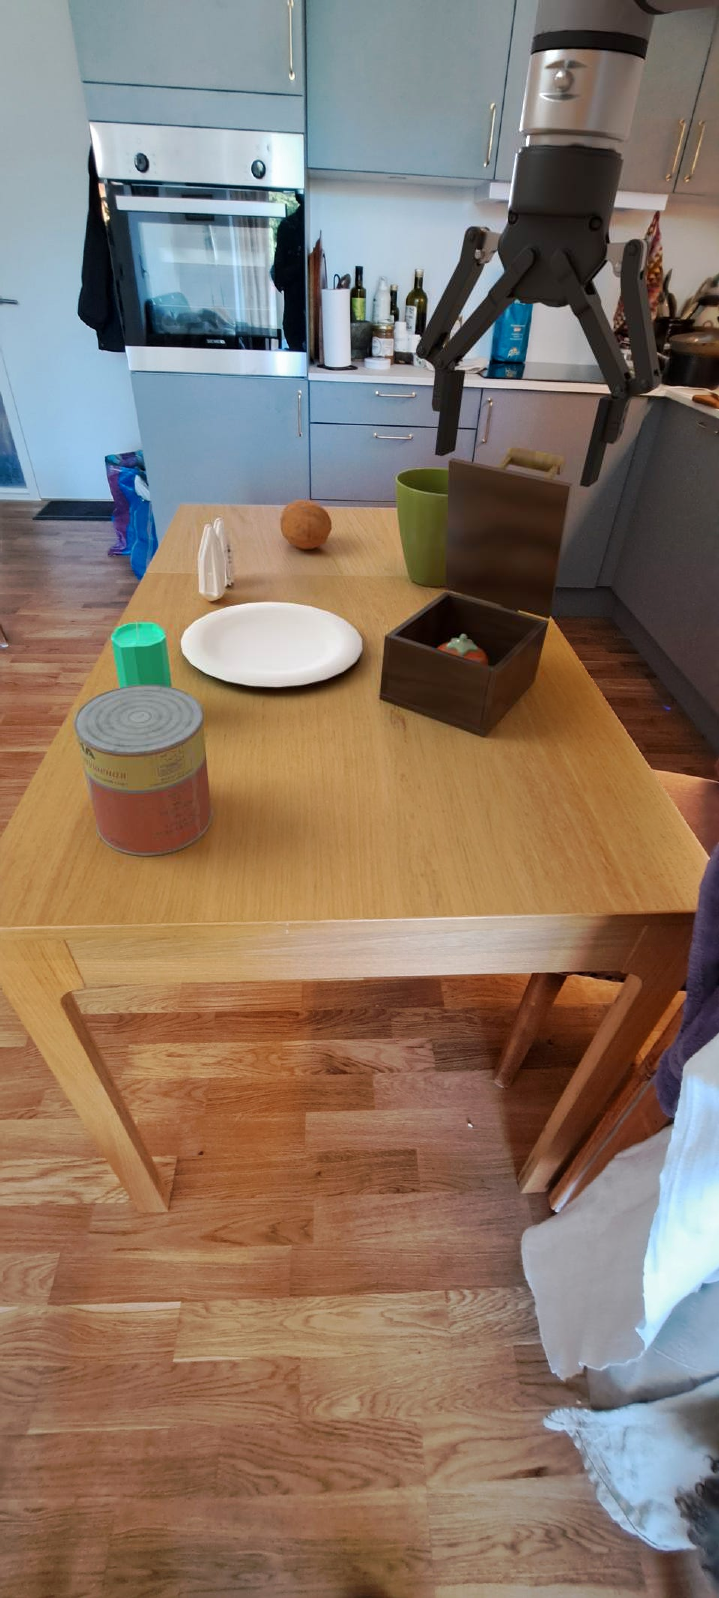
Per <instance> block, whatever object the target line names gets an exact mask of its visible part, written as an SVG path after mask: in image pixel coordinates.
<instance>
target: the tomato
mask: <svg viewBox="0 0 719 1598" xmlns="http://www.w3.org/2000/svg"><path fill="white" fill-rule="evenodd" d="M436 649H439V650H442V651H445V652H448V653H451V654H454V655H458V656H461V657H464V658H467V659H470V660H473V661H476V662H479V663H482V664H485V665H488V666H489V661H488V658H487V656H486V653H485V652H484V651H483V650H482V649H481V648H480V647H478V646H476V645H475V644H474V643H473V641H472V640H470V639H467V635H466V634H462V635H461V636H460V638H452V639H451V642H446V643H444V644H442V645H440V646H439V647H437V648H436Z"/></svg>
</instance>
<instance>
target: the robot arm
mask: <svg viewBox="0 0 719 1598" xmlns="http://www.w3.org/2000/svg"><path fill="white" fill-rule="evenodd" d="M718 7H719V0H537V5H536V12H535V19H534V27H533V34H532V42H531V48H530V56H529V63H528V69H527V75H526V76H527V77H526V81H525V89H524V96H523V104H522V109H521V117H520V123H519V130H518V131H519V133H520V135H521V136H522V137H523V138H526V143H525V146H521V147H519V150H518V152H516V153H515V158H514V165H513V170H512V178H511V185H510V191H509V198H508V207H507V219H506V224H505V226H504V229H503V230H502V233H499V232H496V231H491V229H490V228H489V227H487V226H478V225H475V226H474V225H471V226H469V227H468V228H467V229H466V230H465V232H464V235H463V241H462V245H461V252H460V256H459V261H458V262H457V265H456V267H455V269H454V271H453V273H452V274H451V277H450V279H449V281H448V283H447V285H446V287H445V289H444V291H443V293H442V295H441V297H440V299H439V301H438V303H437V305H436V307H435V308H434V311H433V313H432V315H431V317H430V318H429V321H428V323H427V325H426V327H425V329H424V331H423V333H422V335H421V337H420V338H419V341H418V343H417V345H416V348H415V354H416V357H417V358H418V359H420V360H424V361H426V362H428V363H429V364H431V366H432V367H433V369H434V379H433V387H432V398H431V408H432V411H433V412H438V413H439V415H438V424H437V433H436V441H435V449H434V455H435V456H439V457H444V456H446V455H449V454H452V453H453V452H455V451H456V448H457V440H458V431H459V425H460V418H461V417H460V416H461V407H462V399H463V393H464V392H463V391H464V385H465V377H466V370H465V369H459V368H458V369H456V368H457V367H459V366H460V365H461V364H460V362H461V361H462V360H463V359H464V358H465V357H466V356H467V354H468V353H470V351H471V350H472V349H473V347H475V345H476V344H477V343H478V342H479V341H480V340H481V338H482V337H483V336H484V335H485V334H486V333H487V331H488V330H489V329H490V328H491V327H492V326H493V325H494V324H495V322H497V320H498V319H499V318H500V317H501V316H502V315H503V313H505V311H506V310H507V309H508V308H509V307H510V306H511V305H512V304H514V303H515V302H516V301H517V300H518V301H519V304H523V305H533V304H534V305H535V304H542V305H544V306H546V307H548V308H556V309H558V308H564V307H567V306H569V308H570V310H571V312H572V314H573V315H574V316H575V317H576V318H577V319H578V320H577V321H578V323H579V325H580V327H581V329H582V332H583V334H584V336H585V338H586V341H587V343H588V345H589V347H590V349H591V352H592V355H593V356H594V359H595V361H596V363H597V364H598V367H599V370H600V372H601V375H602V376H603V378H604V381H605V383H606V386H607V388H608V390H609V392H610V393H609V394H607V395H604V396H602V397H600V398H599V401H598V405H597V409H596V414H595V417H594V421H593V422H594V423H593V426H592V430H591V434H590V438H589V443H588V447H587V452H586V456H585V460H584V465H583V468H582V473H581V478H580V482H579V486H580V487H585V488H589V487H591V486H593V484H595V483H596V482H598V481H599V478H600V474H601V470H602V466H603V461H604V458H605V453H606V450H607V445H608V444H610V445H614V444H615V443H617V442H618V441H619V440H620V439H621V437H622V435H623V432H624V427H625V424H626V420H627V416H628V412H629V409H630V405H631V402H632V400H633V398H634V397H636V396H640V395H641V396H642V395H647V394H649V393H651V392H652V391H655V390H656V389H658V388H659V387H660V385H661V382H662V377H661V369H660V363H659V357H658V350H657V344H656V338H655V331H654V324H653V317H652V311H651V304H650V299H649V292H648V285H647V279H646V275H647V269H648V263H649V256H650V241H648V240H647V239H645V238H633V239H630V240H628V241H623V242H612V243H611V239H610V226H611V221H612V217H613V212H614V207H615V204H616V203H615V202H616V198H617V193H618V189H619V183H620V179H621V174H622V170H623V165H624V159H623V158H622V157H623V156H622V155H623V154H622V153H621V152H618V148H619V144H622V143H624V142H625V141H626V140H628V138H629V137H630V134H631V128H632V123H633V118H634V113H635V109H636V103H637V99H638V95H639V91H640V84H641V79H642V75H643V70H644V65H645V61H646V59H647V58H646V57H647V52H648V48H649V46H648V45H649V43H650V38H651V35H652V30H653V25H654V22H655V18H656V16H661V15H668V14H671V13H674V12H682V11H691V10H698V9H707V8H718ZM496 253H497V255H498V258H499V260H500V263H501V267H502V268H503V271H504V272H503V273H502V275H501V276H500V277H499V278H498V279H497V280H496V281H495V283H494V284H493V286H492V287H491V288H490V289H489V290H488V292H487V295H486V296H485V298H484V299H483V300H482V301H481V303H479V304H478V306H477V307H476V308H475V309H474V311H473V312H472V313H470V315H469V317H468V318H467V319H466V320H465V321H464V322H463V323H462V324H461V326H460V327H459V329H458V330H457V331H456V332H455V333H453V335H452V337H451V338H450V339H449V340H448V338H449V337H450V334H451V333H452V330H453V329H454V327H455V324H456V323H457V321H458V319H459V317H460V315H461V313H462V311H463V309H464V307H465V305H466V304H467V301H468V300H469V298H470V297H471V294H472V292H473V290H474V288H475V286H476V285H477V282H478V280H479V279H480V277H481V275H482V273H483V271H484V267H485V265H486V264H489V263H490V262H491V261H492V260H493V257H494V255H495V254H496ZM608 262H609V263H611V266H612V273H613V275H614V276H615V277H617V278H619V287H620V295H621V301H622V306H623V307H622V308H623V313H624V319H625V324H626V330H627V336H628V342H629V349H630V355H631V361H632V364H633V365H632V367H633V373H634V377H633V374H632V372H631V370H630V368H629V365H628V364H627V361H626V359H625V357H624V354H623V352H622V348H621V347H620V345H619V342H618V340H617V338H616V335H615V333H614V331H613V328H612V327H611V326H612V325H611V324H610V322H609V320H608V317H607V314H606V313H605V311H604V308H603V304H602V299H601V296H600V294H599V292H598V290H597V287H596V285H595V282H594V280H595V278H596V277H597V275H598V274H599V273H600V272H601V270H603V268H604V267H605V266H606V265H607V264H608ZM447 340H448V341H447ZM446 342H447V343H446Z"/></svg>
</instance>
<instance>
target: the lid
mask: <svg viewBox="0 0 719 1598" xmlns="http://www.w3.org/2000/svg"><path fill="white" fill-rule="evenodd" d="M566 463H567V458H566V457H565V456H561V455H556V454H553V453H546V452H542V451H536V450H531V449H526V448H521V447H518V446H517V447H516V446H509V447H508V449H507V451H506V454H505V458H503V460H502V461H501V462H500V463H499V464H498V465H497V466H492V465H488V464H483V463H478V462H473V461H469V460H464V459H459V458H455V457H451V458H450V459H449V460H448V468H447V469H448V504H447V541H446V579H445V586H444V589H445V591H449V592H452V593H456V594H457V593H460V594H464V595H467V596H471V597H474V598H478V599H481V600H485V601H488V602H492V603H495V604H499V605H502V606H505V607H509V608H512V609H516V610H518V611H519V612H522V613H525V614H529V615H532V616H536V617H539V618H540V617H541V618H543V619H546V620H549V619H550V618H551V616H552V612H553V606H554V599H555V594H556V588H557V582H558V577H559V570H560V563H561V556H562V552H563V551H562V550H563V544H564V539H565V533H566V525H567V521H568V520H567V519H568V513H569V507H570V501H571V495H572V490H573V488H572V487H573V483H572V482H568V481H562V480H558V479H554V477H556V476H557V475H558V476H561V475H562V474H563V473H564V471H565V468H566ZM509 466H513V467H519V468H524V469H530V470H535V471H539V472H544V473H546V474H545V475H544V476H540V475H536V474H535V475H534V474H531V473H530V474H529V473H525V472H521V471H516V470H512V469H507V468H508V467H509Z"/></svg>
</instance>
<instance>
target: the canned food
mask: <svg viewBox="0 0 719 1598" xmlns="http://www.w3.org/2000/svg"><path fill="white" fill-rule="evenodd" d="M73 729H74V731H75V732H74V733H75V735H76V737H77V741H78V746H79V750H80V754H81V760H82V764H83V768H84V773H85V778H86V782H87V787H88V791H89V796H90V799H91V805H92V808H93V813H94V818H95V824H96V825H95V828H96V831H97V834H98V835H99V837H100V839H101V840H102V841H103V843H105V844H106V845H107V846H109V847H110V848H112V849H114V850H116V851H118V852H120V853H123V854H128V855H132V856H141V857H152V856H161V855H166V854H171V853H174V852H177V851H179V850H182V849H184V848H187V847H188V846H189V845H192V844H193V843H195V842H196V841H198V839H200V838H201V837H202V836H203V835H204V834H205V833H206V831H207V830H208V829H209V827H210V825H211V822H212V819H213V807H212V805H211V794H210V783H209V772H208V771H209V770H208V763H207V762H208V761H207V749H206V740H205V730H204V729H205V728H204V709H203V706H202V705H201V703H200V702H199V700H197V698H196V697H194V696H193V695H191V694H189V693H188V692H186V691H184V690H182V689H179V688H175V687H173V686H172V687H167V686H161V685H134V686H127V687H121V688H120V687H118V688H114V689H110V690H108V691H105V692H103V693H100V694H98V695H96V696H94V697H93V698H91V699H89V700H88V701H86V702H85V703H84V704H83V705H82V706H81V707H80V708H79V709H78V711H77V712H76V714H75V716H74V718H73Z"/></svg>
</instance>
